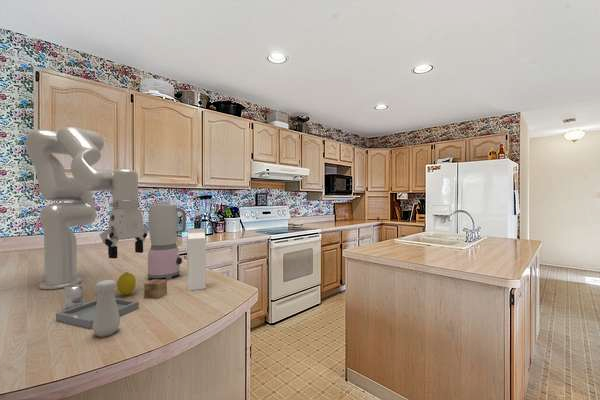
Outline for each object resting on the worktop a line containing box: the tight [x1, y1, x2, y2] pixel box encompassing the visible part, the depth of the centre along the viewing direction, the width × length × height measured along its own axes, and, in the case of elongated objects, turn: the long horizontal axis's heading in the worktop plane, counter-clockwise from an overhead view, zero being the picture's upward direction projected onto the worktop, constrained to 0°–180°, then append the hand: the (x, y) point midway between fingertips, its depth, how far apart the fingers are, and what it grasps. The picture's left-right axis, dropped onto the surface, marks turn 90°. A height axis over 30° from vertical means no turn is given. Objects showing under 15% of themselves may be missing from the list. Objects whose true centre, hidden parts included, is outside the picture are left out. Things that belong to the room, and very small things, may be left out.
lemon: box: [116, 271, 137, 296], centre depth 96 cm, size 6×6×8 cm
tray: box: [55, 297, 140, 330], centre depth 81 cm, size 14×14×2 cm
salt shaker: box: [91, 279, 121, 338], centre depth 70 cm, size 6×6×13 cm
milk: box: [186, 227, 207, 292], centre depth 105 cm, size 6×6×22 cm
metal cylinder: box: [64, 283, 85, 311], centre depth 85 cm, size 4×4×7 cm
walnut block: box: [143, 278, 168, 300], centre depth 96 cm, size 5×5×5 cm
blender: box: [147, 201, 187, 281], centre depth 118 cm, size 16×12×32 cm
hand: (126, 255), depth 96 cm, fingers open, 9 cm apart
